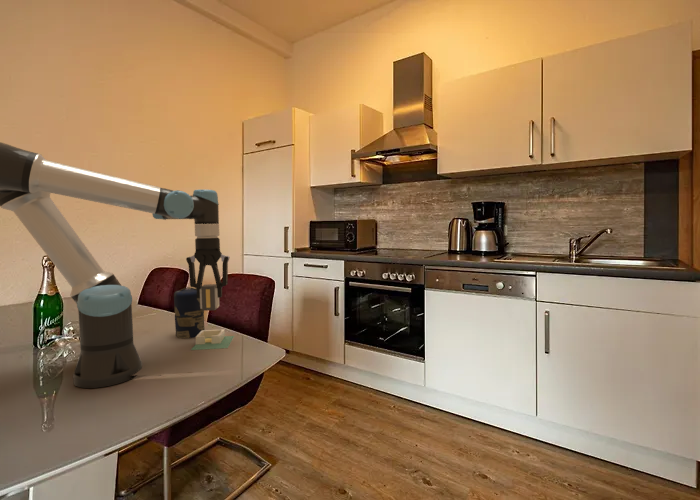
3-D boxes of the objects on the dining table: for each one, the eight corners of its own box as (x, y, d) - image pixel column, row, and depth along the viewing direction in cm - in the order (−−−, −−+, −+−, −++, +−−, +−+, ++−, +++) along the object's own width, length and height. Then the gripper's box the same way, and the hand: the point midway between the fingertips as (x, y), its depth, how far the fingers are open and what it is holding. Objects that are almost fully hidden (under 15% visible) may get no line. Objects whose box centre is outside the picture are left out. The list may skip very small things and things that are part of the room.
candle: (197, 341, 125) (195, 289, 124) (170, 341, 126) (168, 289, 125) (209, 333, 135) (207, 285, 134) (183, 333, 135) (181, 285, 134)
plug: (214, 310, 120) (213, 286, 120) (202, 310, 120) (201, 286, 119) (217, 307, 125) (216, 284, 124) (205, 307, 124) (204, 284, 124)
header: (220, 343, 120) (220, 335, 120) (195, 344, 119) (195, 337, 119) (224, 336, 127) (224, 329, 127) (201, 337, 126) (201, 330, 126)
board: (227, 351, 115) (227, 348, 115) (190, 353, 114) (190, 350, 114) (234, 339, 128) (234, 335, 128) (201, 340, 127) (201, 337, 126)
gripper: (236, 236, 126) (238, 304, 127) (183, 237, 123) (186, 306, 125) (232, 237, 118) (234, 308, 120) (176, 238, 116) (179, 311, 118)
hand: (210, 307), depth 122 cm, fingers closed on plug, 4 cm apart
